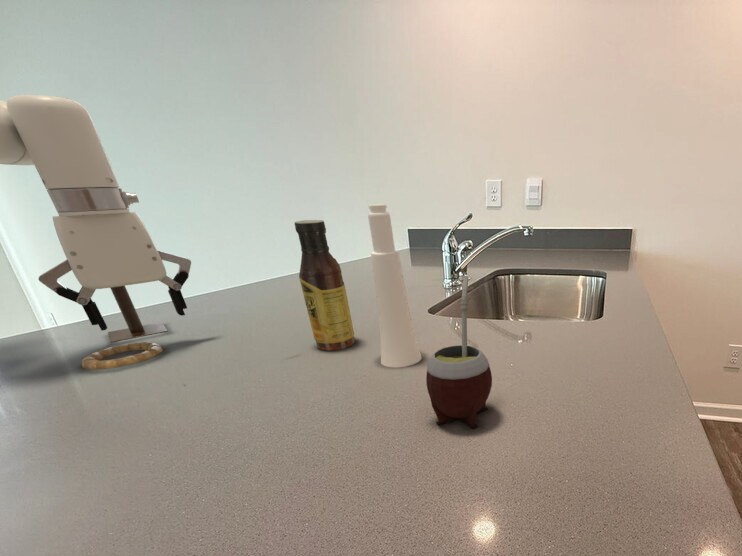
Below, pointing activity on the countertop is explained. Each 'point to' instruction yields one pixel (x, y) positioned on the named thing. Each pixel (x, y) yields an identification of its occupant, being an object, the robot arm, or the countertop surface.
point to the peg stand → (131, 319)
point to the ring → (95, 363)
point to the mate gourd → (459, 378)
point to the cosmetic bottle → (391, 294)
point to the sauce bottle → (323, 289)
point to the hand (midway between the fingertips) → (144, 320)
